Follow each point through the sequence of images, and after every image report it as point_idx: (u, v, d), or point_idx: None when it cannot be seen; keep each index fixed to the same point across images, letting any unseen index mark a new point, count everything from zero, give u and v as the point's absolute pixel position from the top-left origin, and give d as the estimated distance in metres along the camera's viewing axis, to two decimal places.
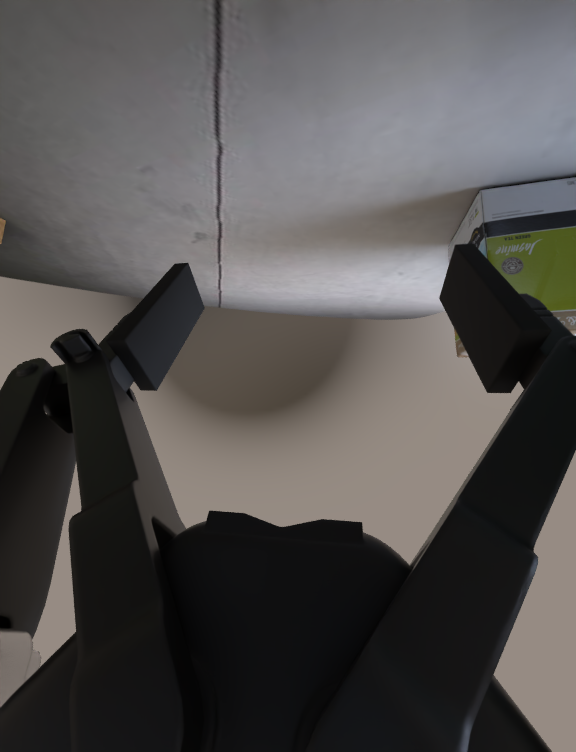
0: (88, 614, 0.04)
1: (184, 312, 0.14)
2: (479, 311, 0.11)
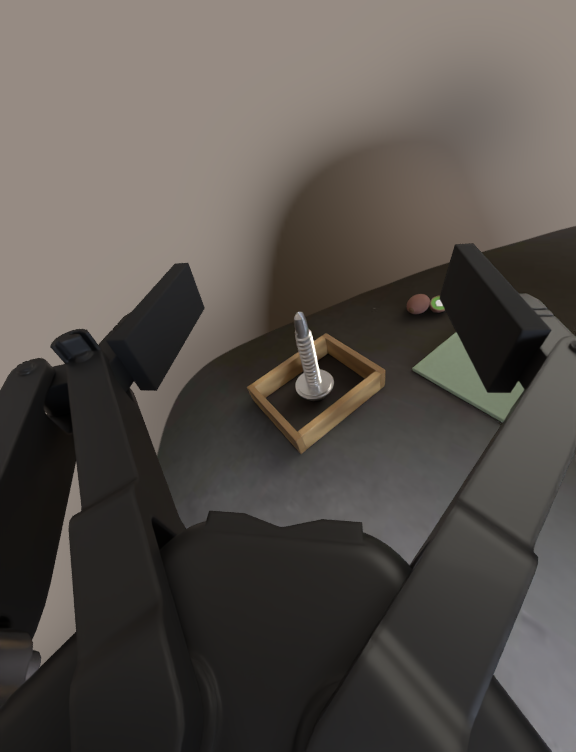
0: (88, 614, 0.04)
1: (184, 312, 0.14)
2: (480, 311, 0.11)
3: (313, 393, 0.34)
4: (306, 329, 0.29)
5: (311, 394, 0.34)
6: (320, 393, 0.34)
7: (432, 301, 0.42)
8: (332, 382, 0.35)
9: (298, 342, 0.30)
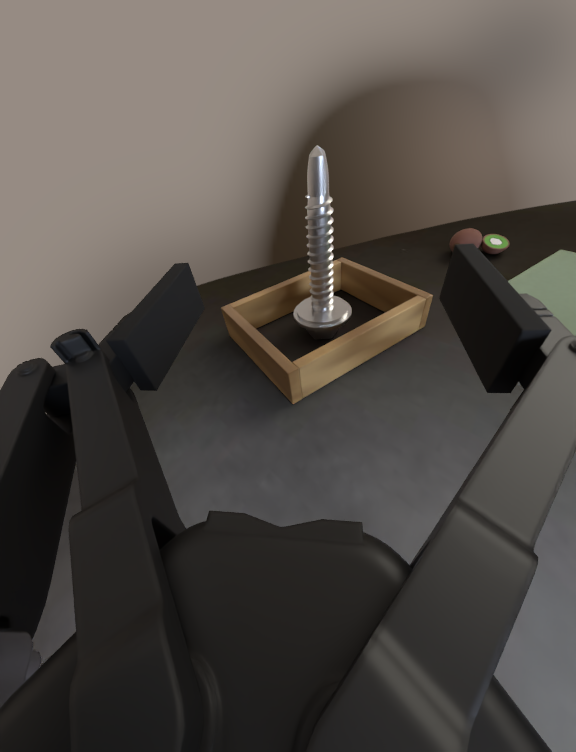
0: (88, 614, 0.04)
1: (184, 312, 0.14)
2: (479, 311, 0.11)
3: (320, 320, 0.22)
4: (326, 186, 0.17)
5: (317, 321, 0.22)
6: (331, 320, 0.22)
7: (485, 238, 0.31)
8: (349, 310, 0.23)
9: (309, 215, 0.18)
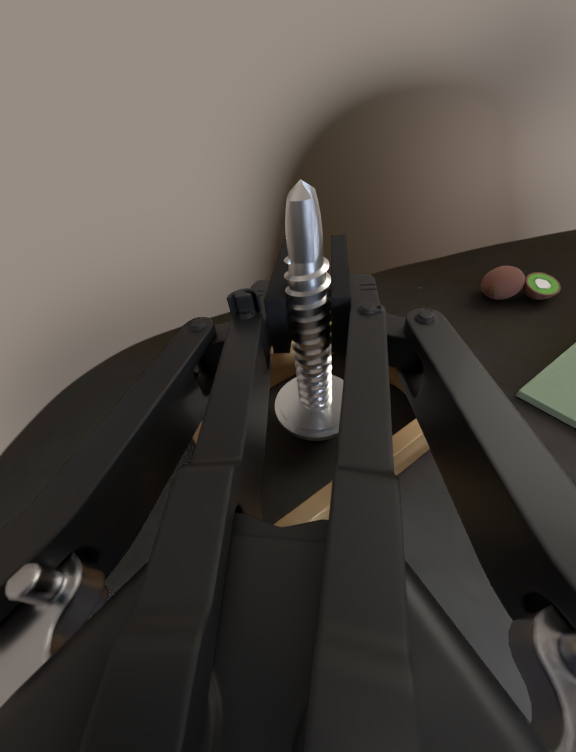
0: (155, 572, 0.05)
1: None
2: None
3: (313, 424, 0.15)
4: (318, 246, 0.10)
5: (308, 426, 0.15)
6: (329, 426, 0.15)
7: (529, 279, 0.24)
8: None
9: (291, 288, 0.11)
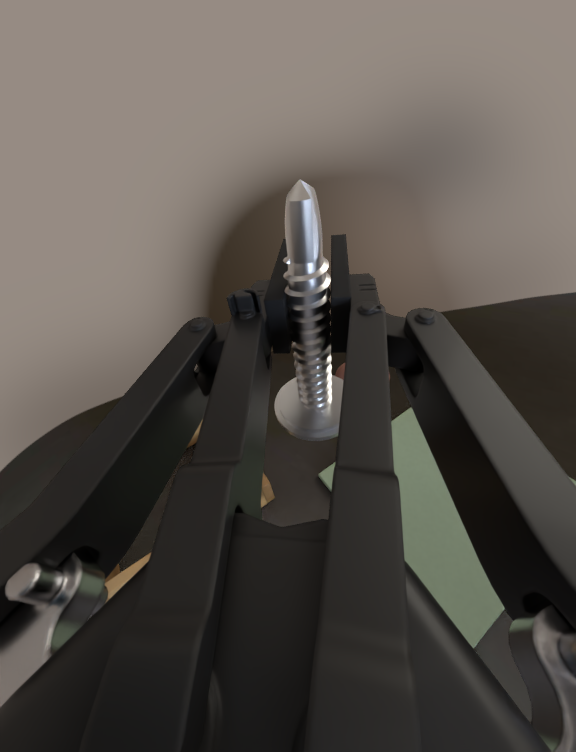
0: (155, 572, 0.05)
1: None
2: None
3: (312, 424, 0.15)
4: (318, 246, 0.10)
5: (308, 426, 0.15)
6: (328, 426, 0.15)
7: None
8: None
9: (291, 288, 0.11)
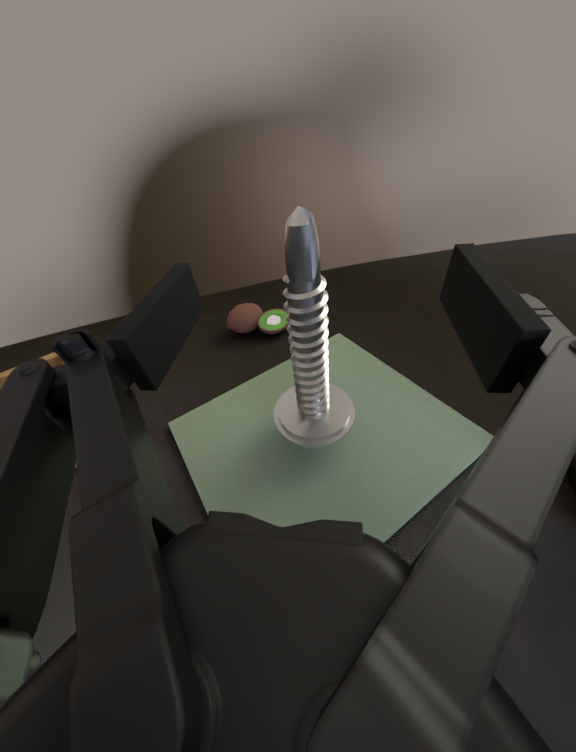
0: (88, 614, 0.04)
1: (184, 312, 0.14)
2: (480, 311, 0.11)
3: (310, 433, 0.16)
4: (316, 267, 0.11)
5: (306, 435, 0.15)
6: (326, 435, 0.15)
7: (263, 316, 0.27)
8: (352, 412, 0.17)
9: (290, 305, 0.12)
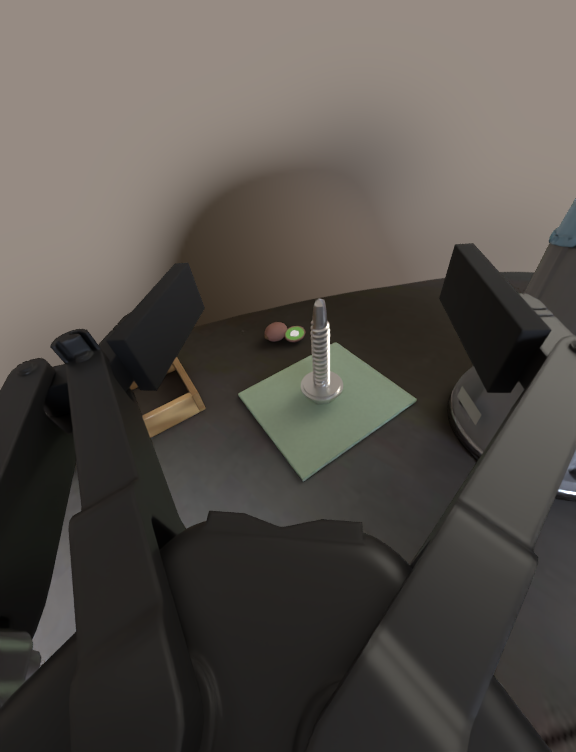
0: (88, 614, 0.04)
1: (184, 312, 0.14)
2: (479, 311, 0.11)
3: (320, 394, 0.31)
4: (325, 319, 0.26)
5: (318, 395, 0.31)
6: (328, 395, 0.31)
7: (288, 330, 0.42)
8: (341, 385, 0.32)
9: (313, 333, 0.27)
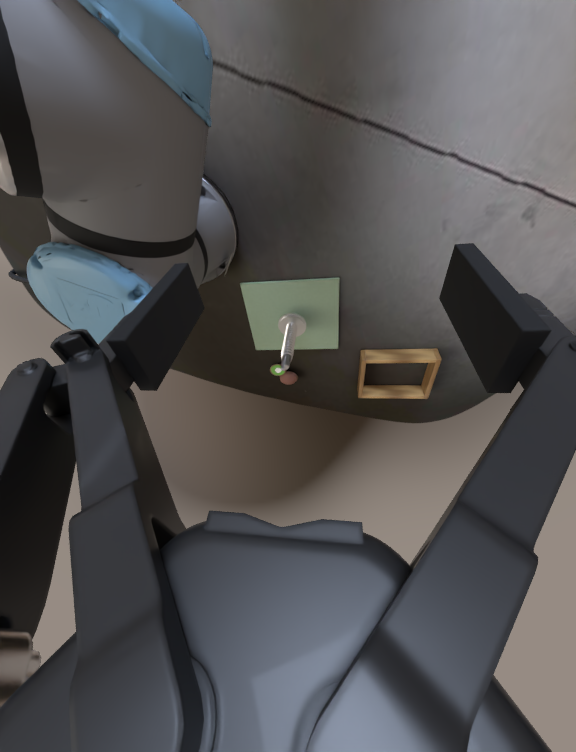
0: (88, 614, 0.04)
1: (184, 312, 0.14)
2: (479, 311, 0.11)
3: (298, 319, 0.47)
4: (284, 357, 0.42)
5: (299, 320, 0.47)
6: (294, 316, 0.47)
7: (281, 374, 0.59)
8: (281, 318, 0.48)
9: (292, 354, 0.43)
